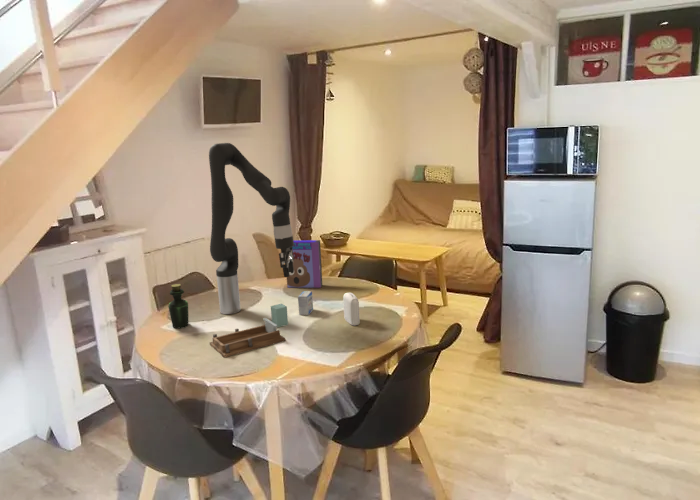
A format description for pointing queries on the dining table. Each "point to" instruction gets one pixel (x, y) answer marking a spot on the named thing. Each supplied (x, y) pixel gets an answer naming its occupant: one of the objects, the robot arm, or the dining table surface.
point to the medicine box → (305, 303)
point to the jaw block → (279, 315)
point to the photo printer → (351, 308)
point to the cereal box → (306, 265)
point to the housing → (245, 340)
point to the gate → (270, 325)
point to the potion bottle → (178, 308)
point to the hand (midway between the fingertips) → (289, 274)
